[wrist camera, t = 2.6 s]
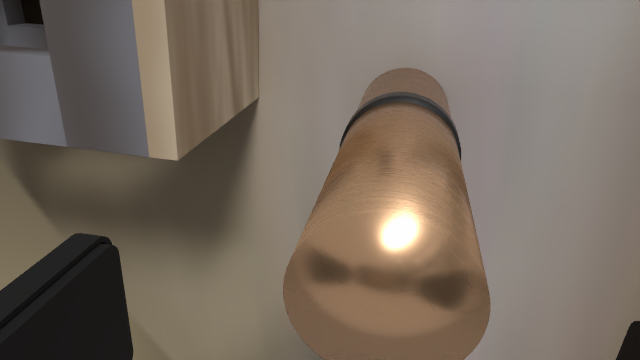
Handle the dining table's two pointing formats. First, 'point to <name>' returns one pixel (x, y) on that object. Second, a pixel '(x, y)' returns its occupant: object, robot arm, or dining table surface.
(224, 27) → the collar stand
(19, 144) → the dining table surface
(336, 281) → the tan cylinder
